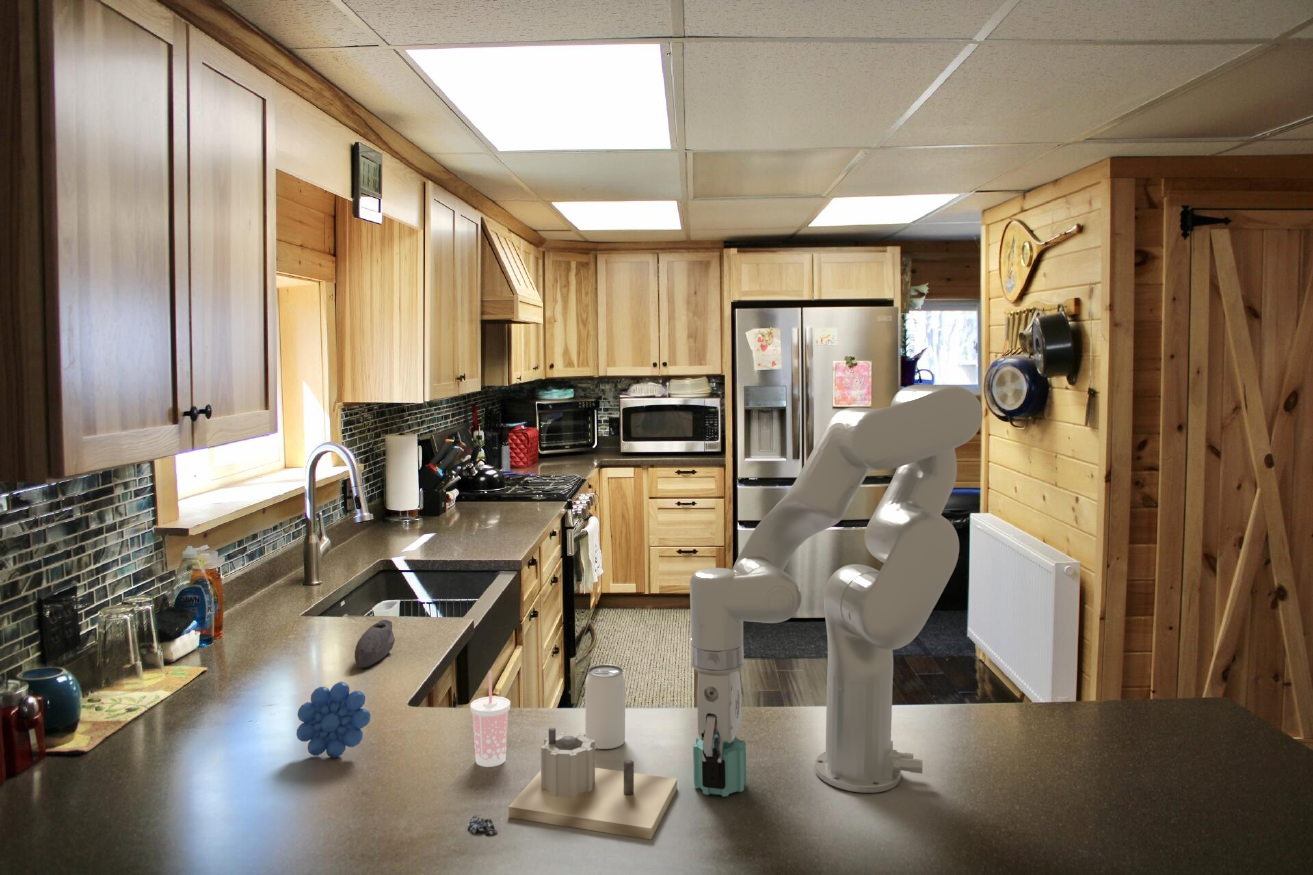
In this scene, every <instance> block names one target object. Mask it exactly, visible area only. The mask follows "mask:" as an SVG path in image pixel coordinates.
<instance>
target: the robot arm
mask: <svg viewBox="0 0 1313 875" xmlns="http://www.w3.org/2000/svg"><path fill="white" fill-rule="evenodd" d="M983 413H984V412H983V407H982V404H981V402H980V400H979V399H978V397H977V396H976V395H975V394H974V393H973V392H972V391H970V390H969V389H968V388H965V387H963V386H959V385H950V384H949V385H947V384H945V385H944V384H925V383H924V384H911V385H909V386H906V387H904V388H902V389H900V390H899V391H898V392H896V394H895V395H894V396H893V398H892V400H891V403H890V406H885V407H880V408H872V407H871V408H870V407H857V406H856V407H847V408H844V409H841V410H839V411H838V412H836V413H835V414H834V415H833V416H832V417H831V418H830V420H829V422H828V423H827V425H826V426H825V428H824V429H823V431H822V433H821V434H820V437H819V438H818V440H817V442H816V444H815V446H814V448H813V449H812V450H811V453H809V454H810V455H809V457H808V458H807V460H806V461H805V463H804V465H803V467H802V469H801V470H800V472H799V473H798V475H797V477H796V479H795V481H794V482H793V484H792V486H791V487H790V489H789V491H788V492H787V493H786V495H784V497H782V498H781V500H779V501H778V502H777V503H775V504H776V505H775V506H774V507H773V508H772V509H770V511H769V512H768V513H767V514H766V515H765V516H764V517H763V518H762V519H761V521H760V522H759V523H758V524H757V525H756V527H754V529H753V531H752V532H751V534H750V535H749V538H748V539H747V541H746V543H745V544H744V546H743V548H742V549H741V551H740V553H739V555H738V557H737V559H736V561H735V562H734V565H733V567H732V569H730V568H727V567H709V568H708V567H707V568H702V569H699V570H697V571H695V572H694V573H692V575H691V577H690V581H689V601H690V603H689V604H690V606H689V607H690V650H691V651H690V653H691V655H690V656H691V657H690V658H691V667H692V668H693V669H694V670H695V671H697V672H698V673H697V674H698V675H697V732H698V734H697V735H698V737H699V738H700V739H701V740H702V741H703V754H702V784H703V786H704V787H707V788H716V789H724V788H725V760H723V749H724V742H727V743H731V742H732V741H733V740H734V738H735V736H736V737H737V733H738V732H739V729H740V727H741V724H742V720H743V706H742V705H743V704H742V685H741V673H740V670H742V669H743V668H744V666H745V665H744V664H745V663H744V656H745V655H744V622H750V623H753V622H754V623H763V624H777V623H782V622H785V621H788V620H789V619H791V618H792V617H794V616H795V615H796V614H797V612H798V610H799V609H800V607H801V604H802V591H801V589H800V586H799V585H798V583H797V582H796V580H795V579H794V578H793V577H792V576H791V575H789V574H788V573H787V572H785V571H784V570H785V567H787V565H788V563H789V562H790V559H791V558H792V556H793V555H794V554H795V553H796V551H797V550H798V549H799V547H800V546H801V545H802V544H803V543H804V542H805V541H807V540H808V539H809V538H810V537H812V536H814V535H816V534H817V533H820V532H822V531H825V530H828V529H831V528H832V527H834V526H835V525H837V524H839V522H840V521H842V519H844V516H845V514H846V512H847V511H848V509H849V507H850V505H851V504H852V502H853V500H854V498H855V496H856V494H857V493H858V491H859V489H860V488H861V486H862V484H863V482H864V480H866V479H865V478H867V475H868V473H869V472H870V470H872V471H877V472H879V471H888V470H892V469H896V470H895V473H894V474H893V477H892V479H891V481H890V483H889V485H888V487H887V488H886V490H885V491H884V494H883V496H882V498H881V499H880V501H879V503H878V505H877V507H876V508H875V510H874V513H873V514H872V516H871V518H870V519H869V522H868V523H867V526H866V528H865V531H864V538H863V539H864V545H865V547H866V549H867V551H868V552H869V553H870V555H871V556H873V557H874V558H875V559H877V560H878V561H879V562H881V563H883V565H882V566H881V568H880V570H878V569H875V568H874V567H871V566H869V565H865V564H859V563H858V564H857V563H853V564H852V563H851V564H847V565H844V566H842V567H840V568H838V569H837V570H836V571H835V572H833V574H832V575H831V576H830V577H829V579H828V581H827V583H826V586H825V589H824V592H823V594H824V595H823V607H824V608H823V609H824V618H825V626H826V633H827V634H826V635H827V636H826V637H827V669H826V670H827V671H826V677H827V678H826V713H825V714H826V715H825V716H826V719H825V726H826V727H825V751H824V752H822V753H820V754H819V755H818V756H817V757H816V758H815V760H814V772H815V773H816V775H817V776H818V778H820V780H822V781H824V782H825V783H826V784H828V785H830V786H832V787H835V788H838V789H840V790H845V791H848V792H852V793H853V792H854V793H863V794H866V793H868V794H869V793H870V794H871V793H872V794H873V793H881V792H885V791H889V790H891V789H894V788H895V787H897V785H898V784H899V783H900V782H901V779H902V778H901V777H902V776H901V775H902V774H901V771H902V772H903V771H904V772H910V773H912V774H913V773H914V774H923V766H924V764H923V763H924V762H923V759H919V758H914V753H910V752H899V751H898V749H894V740H892V716H893V715H892V714H893V685H894V683H893V678H894V653H893V652H894V650H898V649H901V648H903V647H905V646H907V645H908V644H910V643H911V642H912V641H913V640H914V639H915V638H916V637H917V636H918V635H919V634H920V633H921V631H922V630H923V628H924V626H925V625H926V623H927V621H928V620H929V618H930V615H931V614H932V613H933V610H934V608H935V606H936V605H937V603H938V601H939V599H940V598H941V595H942V593H943V592H944V590H945V588H946V586H947V584H948V582H949V580H950V578H951V576H952V575H953V572H954V570H955V568H956V566H957V563H958V559H959V553H960V540H959V536H958V533H957V530H956V528H955V527H954V525H953V524H952V523H951V521H950V520H948V519H947V518H945V517H944V516H943V515H942V514H943V512H944V509H945V506H946V505H947V503H948V500H949V498H950V496H951V494H952V492H953V490H954V487H955V484H956V481H957V474H958V462H957V461H958V460H957V454H956V450H955V449H956V448H958V447H960V446H963V445H964V444H966V443H968V442H970V441H971V440H972V439H973V438H974V437H975V436H976V434H977V433H978V432H979V431H980V430H979V429H980V428H981V425H982V423H983V415H984V414H983ZM715 734H718V735H720V739H719V738H714V737H715ZM714 743H717V744H719V748H718V751H717V749H716V748H714Z"/></svg>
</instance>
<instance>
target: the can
mask: <svg viewBox="0 0 1313 875" xmlns="http://www.w3.org/2000/svg"><path fill="white" fill-rule="evenodd" d="M623 671H624V670H623V668H622V667H621V666H619V665H615V664H597V665H593V666H592V667H590V668H589V669H588V670H587V672H588V674H587V676H586V678H585V689H584V690H585V693H584V694H585V697H584V698H585V703H584V704H585V708H584V709H585V713H584V714H585V715H584V716H585V718H584V722H585V723H584V724H585V726H584V727H585V737H586V738H588V739H590V740H592V739H594V741H595V748H596V749H595V750H599V749H610V750H615V749H617V748H616V747H618V748H619V747H621V746H622V745H623V744H624V743H625V742H626V741H625V740H626V678H625V676H624V673H623ZM614 748H615V749H614Z"/></svg>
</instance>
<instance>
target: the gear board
mask: <svg viewBox="0 0 1313 875" xmlns="http://www.w3.org/2000/svg"><path fill="white" fill-rule="evenodd" d="M634 762H635V760H632V759H625V760H623V770H614V769H607V768H601V767H595V783H593V790H591V791H590V792H583V793H580V794H578V795H577V797H573V798H570V796H559V795H558V796H556V797H554V796H550V792H549V791H548V790H546V789H545V790H542V788H541V769H540V770H539V772H538V773H537V774H536V775H535V776H534V777H533V778H532V779H531V781H529V783H528V784H527V785H526V786H525V787H524V788H523V790H522V791H521V792H520V793H519V794H518V795H517V796H516V798H515V799H513V801H512V802H511V803H510V804H509V806H508V807H507V808H508V818H509V819H517V820H523V821H530V822H536V823H542V824H549V825H554V826H562V827H568V828H573V829H580V830H588V831H592V832H593V831H594V832H600V833H605V834H606V833H607V834H613V835H619V836H625V837H631V838H638V839H645V840H652V839H653V836H654V835H655V833H656V831H657V830H658V827H659V825H660V823H661V822H662V819H663V817H664V815H665V813H666V811H667V809H668V807H669V806H670V804H671V802H672V800H673V798H674V796H675V793H676V792H677V790H678V778H673V777H667V776H659V775H651V774H645V773H644V774H643V773H636V772H634V771H635V770H634V769H635V763H634Z"/></svg>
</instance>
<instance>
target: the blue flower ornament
mask: <svg viewBox="0 0 1313 875" xmlns="http://www.w3.org/2000/svg"><path fill="white" fill-rule="evenodd" d="M365 703H366V695H365V692H363V691H361V690H354V691H351V693H350V686H349V684H348V683H346V682H345V681H344V682H343V681H339V682H337V683H335V684H333V685H332V687H331V688H330V689H329V688H328V687H326V686H318V687H317V688H316V689H314V690H313V691H312V693H311V695H310V701H307V702H305V703H303V704H302V705H301V706H300V707H299V708H298V710H297V718H298V721H300V722H302V723H301V724H299V726H298V727H297V729H296V737H297V739H298V740H299V741H300V742H304V743H305V742H308V741H309V742H308V743H307V751H308V754H310V755H312V756H320V755H322V754H323V753H325V752H326V755H327V756H328V757H330V758H333V759H336V758H338V757H340V756H341V755H343V754H344V752H345V751H346V747H348V748H354V747H356V746H358V745H359V744H360V743H361V742H362V741H363V737H364V733H363V731H362V730H363V728H364V727H366V726H368V724H369V723H370V722H371V713H370V710H368V709H367V708H363V706H364V705H365Z"/></svg>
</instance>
